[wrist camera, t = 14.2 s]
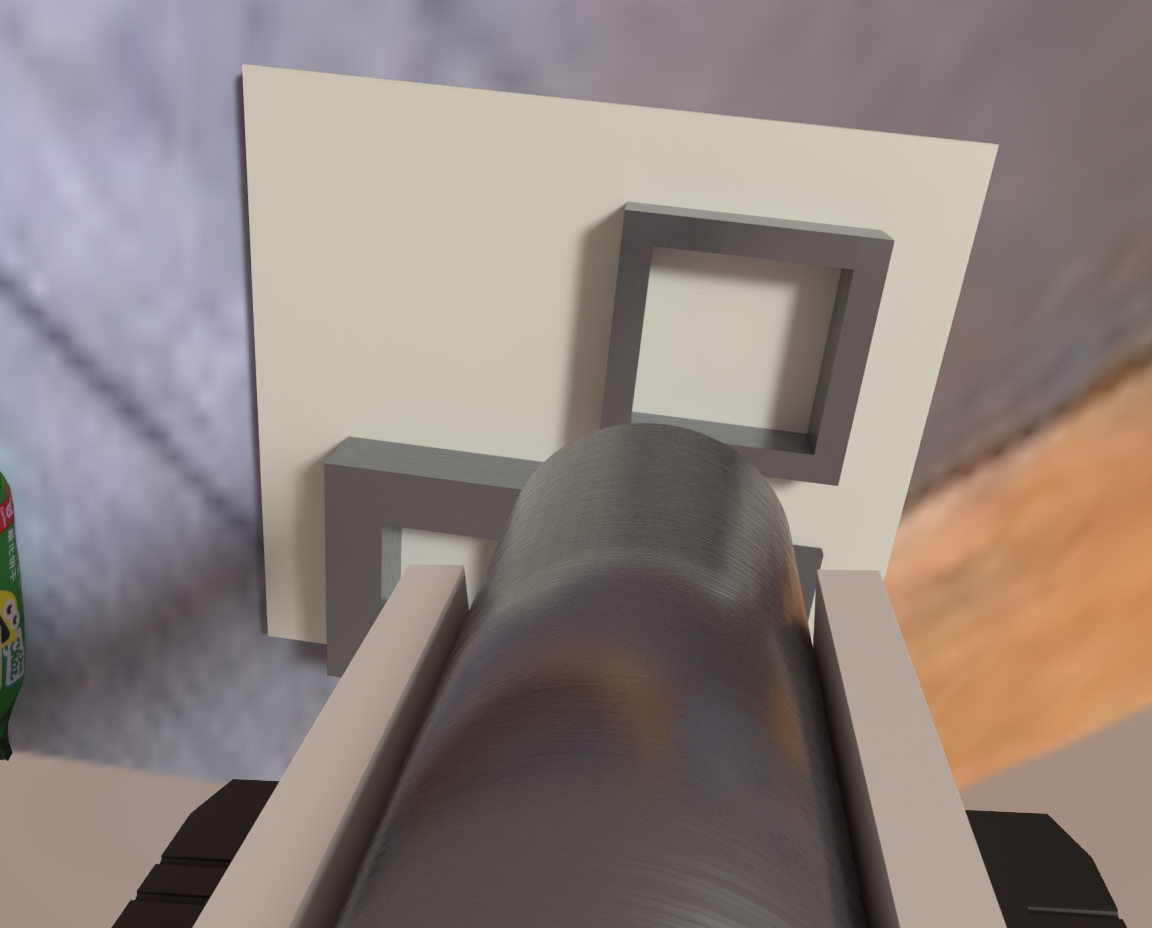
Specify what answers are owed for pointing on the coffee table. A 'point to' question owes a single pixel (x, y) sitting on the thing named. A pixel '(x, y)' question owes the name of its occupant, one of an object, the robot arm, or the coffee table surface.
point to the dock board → (569, 293)
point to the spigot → (624, 716)
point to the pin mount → (400, 521)
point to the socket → (773, 240)
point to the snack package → (9, 618)
